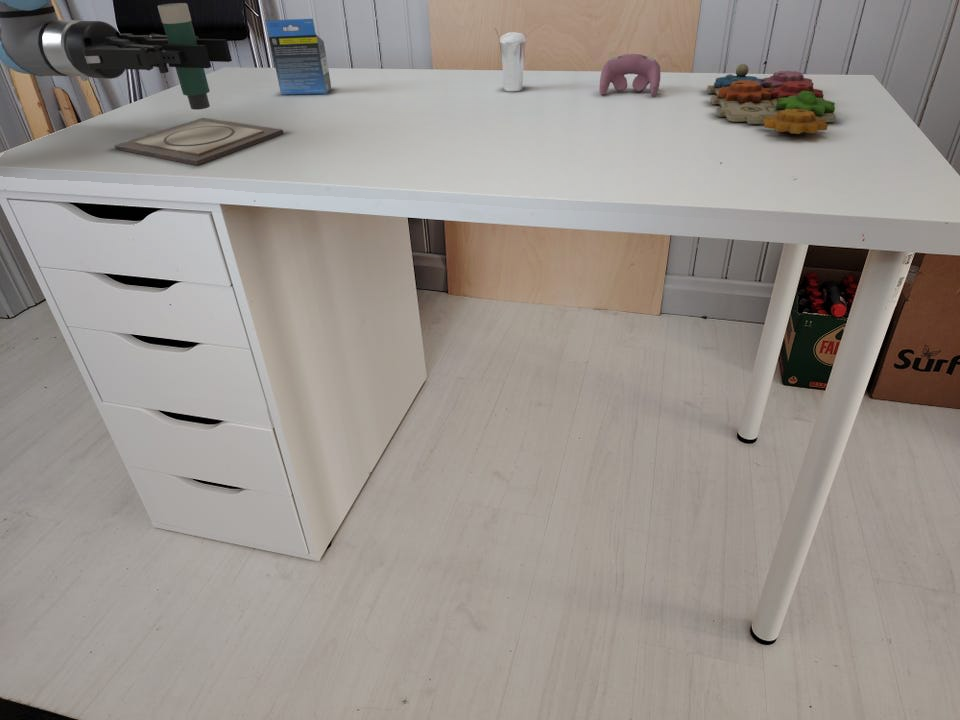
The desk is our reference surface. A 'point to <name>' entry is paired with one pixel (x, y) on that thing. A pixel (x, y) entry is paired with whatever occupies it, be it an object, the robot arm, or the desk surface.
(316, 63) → the tape cartridge
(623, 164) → the desk surface
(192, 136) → the picture frame
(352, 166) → the desk surface
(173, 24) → the marker
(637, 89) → the video game controller
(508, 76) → the milkshake
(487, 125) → the desk surface
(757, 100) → the gear puzzle
